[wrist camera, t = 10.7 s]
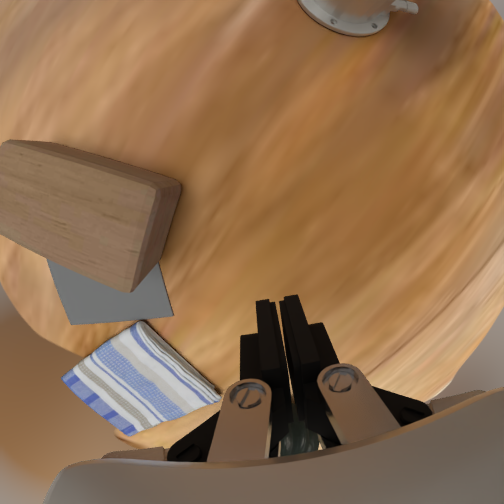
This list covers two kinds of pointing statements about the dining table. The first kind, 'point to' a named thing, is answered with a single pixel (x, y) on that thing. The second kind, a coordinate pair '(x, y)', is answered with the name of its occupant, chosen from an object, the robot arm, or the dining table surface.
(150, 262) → the wooden block
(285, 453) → the squash
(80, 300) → the mat
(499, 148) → the dining table surface
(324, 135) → the dining table surface
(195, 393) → the dish towel
